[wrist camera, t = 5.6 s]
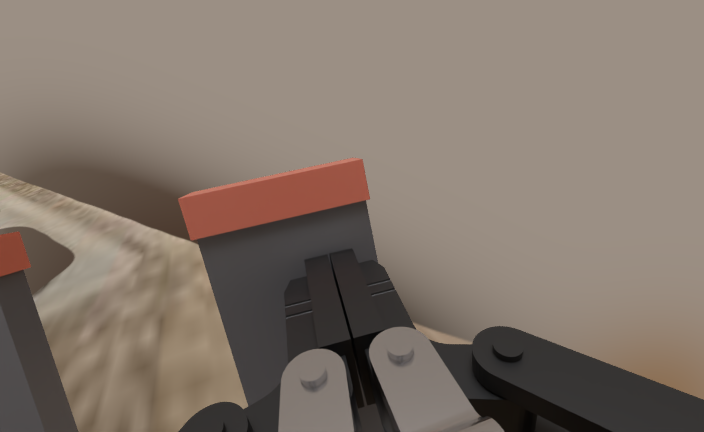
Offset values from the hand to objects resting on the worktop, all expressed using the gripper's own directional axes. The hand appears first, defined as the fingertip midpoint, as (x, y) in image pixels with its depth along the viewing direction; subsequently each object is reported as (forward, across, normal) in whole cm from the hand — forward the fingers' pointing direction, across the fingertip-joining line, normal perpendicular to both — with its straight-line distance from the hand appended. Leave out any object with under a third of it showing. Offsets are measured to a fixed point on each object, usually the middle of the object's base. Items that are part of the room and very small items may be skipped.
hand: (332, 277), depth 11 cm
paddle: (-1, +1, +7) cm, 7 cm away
